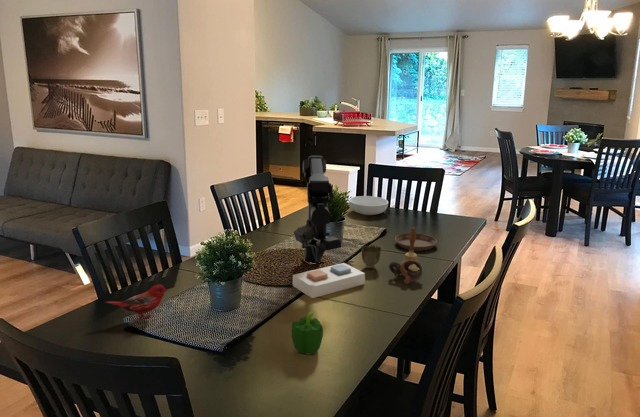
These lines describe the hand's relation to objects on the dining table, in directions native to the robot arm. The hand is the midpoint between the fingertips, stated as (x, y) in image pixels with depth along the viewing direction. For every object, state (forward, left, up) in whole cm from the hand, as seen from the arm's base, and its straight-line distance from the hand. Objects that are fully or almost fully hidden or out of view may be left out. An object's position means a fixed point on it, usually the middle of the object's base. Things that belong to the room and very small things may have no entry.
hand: (317, 261), depth 171 cm
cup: (-5, +28, -10) cm, 30 cm away
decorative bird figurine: (-10, -57, -10) cm, 59 cm away
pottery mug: (+10, +31, -10) cm, 35 cm away
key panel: (0, +5, -10) cm, 11 cm away
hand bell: (+3, +41, -10) cm, 42 cm away
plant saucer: (-15, +62, -10) cm, 65 cm away
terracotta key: (0, 0, -7) cm, 7 cm away
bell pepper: (+32, -25, -10) cm, 42 cm away
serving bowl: (-67, +79, -10) cm, 104 cm away
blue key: (0, +10, -7) cm, 12 cm away
